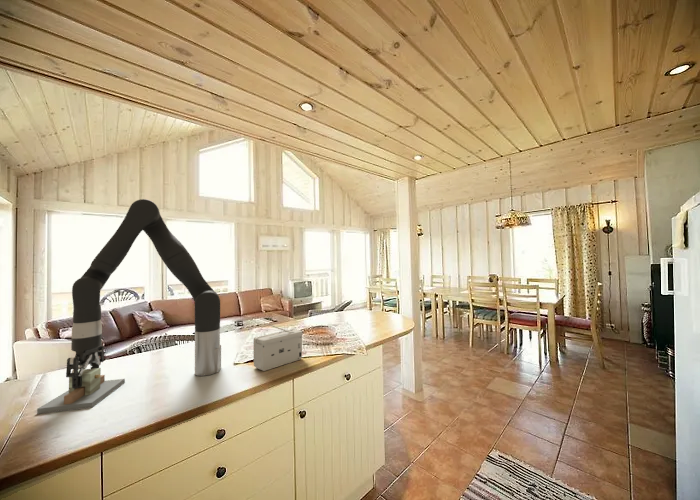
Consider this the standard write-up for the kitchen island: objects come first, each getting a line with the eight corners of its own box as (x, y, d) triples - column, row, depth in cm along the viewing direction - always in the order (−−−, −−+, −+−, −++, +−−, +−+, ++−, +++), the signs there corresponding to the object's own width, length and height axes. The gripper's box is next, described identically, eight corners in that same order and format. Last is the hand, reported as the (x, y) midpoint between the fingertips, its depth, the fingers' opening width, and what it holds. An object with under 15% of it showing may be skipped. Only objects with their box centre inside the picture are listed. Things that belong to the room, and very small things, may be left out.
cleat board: (124, 382, 104) (124, 372, 104) (91, 407, 86) (92, 394, 86) (80, 387, 100) (80, 376, 100) (37, 413, 83) (37, 400, 83)
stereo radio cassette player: (294, 355, 131) (294, 313, 131) (304, 359, 125) (304, 315, 126) (252, 368, 116) (252, 320, 117) (261, 373, 110) (261, 323, 111)
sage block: (103, 387, 96) (103, 367, 97) (93, 394, 91) (94, 373, 92) (79, 390, 95) (80, 369, 95) (68, 397, 90) (69, 375, 90)
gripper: (85, 339, 88) (84, 390, 87) (112, 328, 102) (112, 372, 101) (57, 341, 86) (55, 393, 86) (88, 330, 100) (87, 375, 99)
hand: (86, 382), depth 93 cm, fingers open, 8 cm apart
